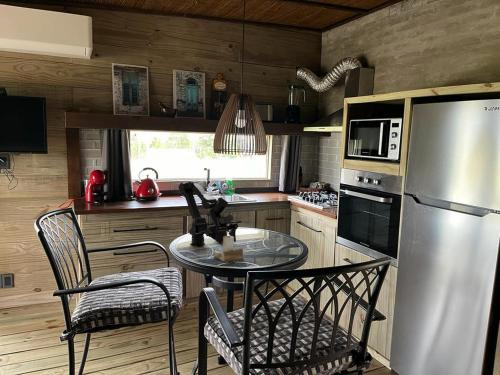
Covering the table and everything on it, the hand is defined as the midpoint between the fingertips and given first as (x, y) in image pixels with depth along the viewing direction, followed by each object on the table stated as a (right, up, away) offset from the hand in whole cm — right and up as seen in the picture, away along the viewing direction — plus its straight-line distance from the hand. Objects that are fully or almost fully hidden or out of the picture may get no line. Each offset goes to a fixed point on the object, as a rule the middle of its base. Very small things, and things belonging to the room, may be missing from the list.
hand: (228, 243), depth 201 cm
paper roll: (-1, -8, +1) cm, 8 cm away
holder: (-1, -8, +1) cm, 8 cm away
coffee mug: (-7, -3, +33) cm, 34 cm away
